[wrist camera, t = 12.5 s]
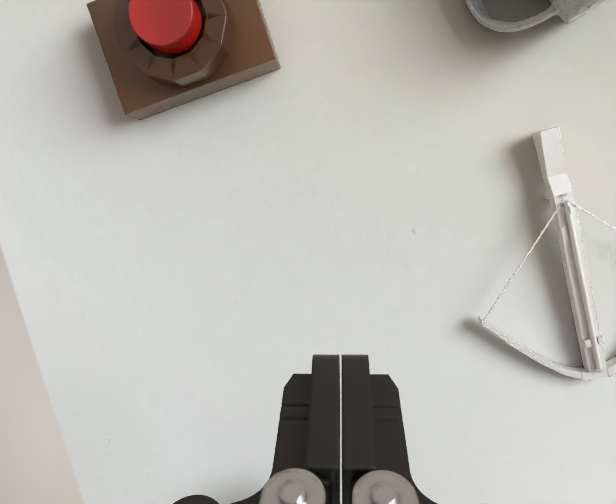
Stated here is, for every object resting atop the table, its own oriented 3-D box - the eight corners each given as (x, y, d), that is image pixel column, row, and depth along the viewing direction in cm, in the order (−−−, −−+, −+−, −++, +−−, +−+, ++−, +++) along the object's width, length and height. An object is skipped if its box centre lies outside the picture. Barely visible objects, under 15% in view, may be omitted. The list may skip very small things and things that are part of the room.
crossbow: (687, 346, 32) (710, 359, 30) (492, 389, 33) (502, 404, 31) (645, 102, 30) (668, 96, 28) (438, 158, 31) (445, 158, 29)
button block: (139, 120, 33) (110, 108, 29) (103, 17, 32) (69, -10, 28) (281, 68, 31) (271, 49, 28) (246, -40, 31) (230, -75, 27)
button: (153, 63, 29) (141, 54, 27) (133, 3, 28) (118, -10, 27) (210, 42, 28) (201, 31, 26) (190, -20, 28) (179, -35, 26)
